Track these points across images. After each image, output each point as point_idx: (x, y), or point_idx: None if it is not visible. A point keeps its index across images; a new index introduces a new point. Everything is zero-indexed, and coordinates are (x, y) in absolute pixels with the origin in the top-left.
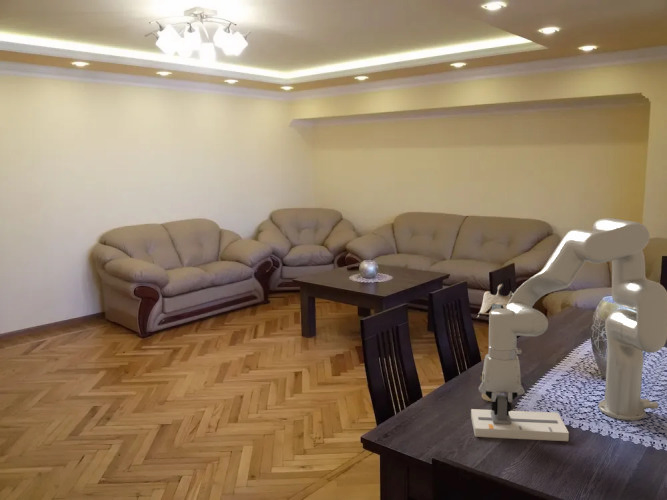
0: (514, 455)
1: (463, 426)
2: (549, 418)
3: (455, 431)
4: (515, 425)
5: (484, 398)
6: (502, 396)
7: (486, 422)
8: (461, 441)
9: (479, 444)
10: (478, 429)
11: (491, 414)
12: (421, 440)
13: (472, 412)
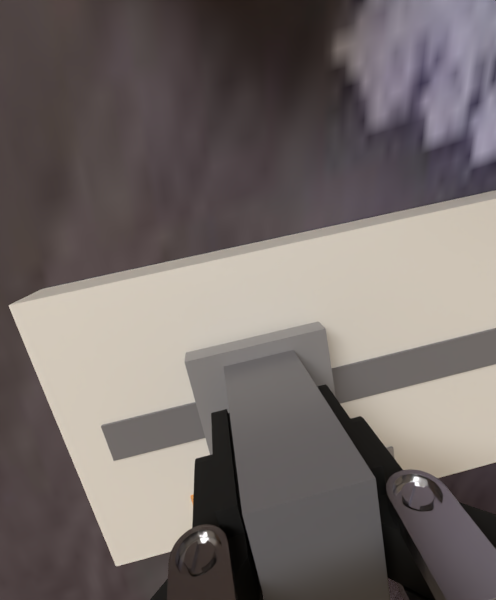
0: None
1: (31, 434)
2: None
3: (2, 504)
4: None
5: None
6: (344, 588)
7: (174, 474)
8: (69, 580)
9: (165, 571)
10: (138, 554)
11: (199, 415)
12: None
13: (38, 363)
